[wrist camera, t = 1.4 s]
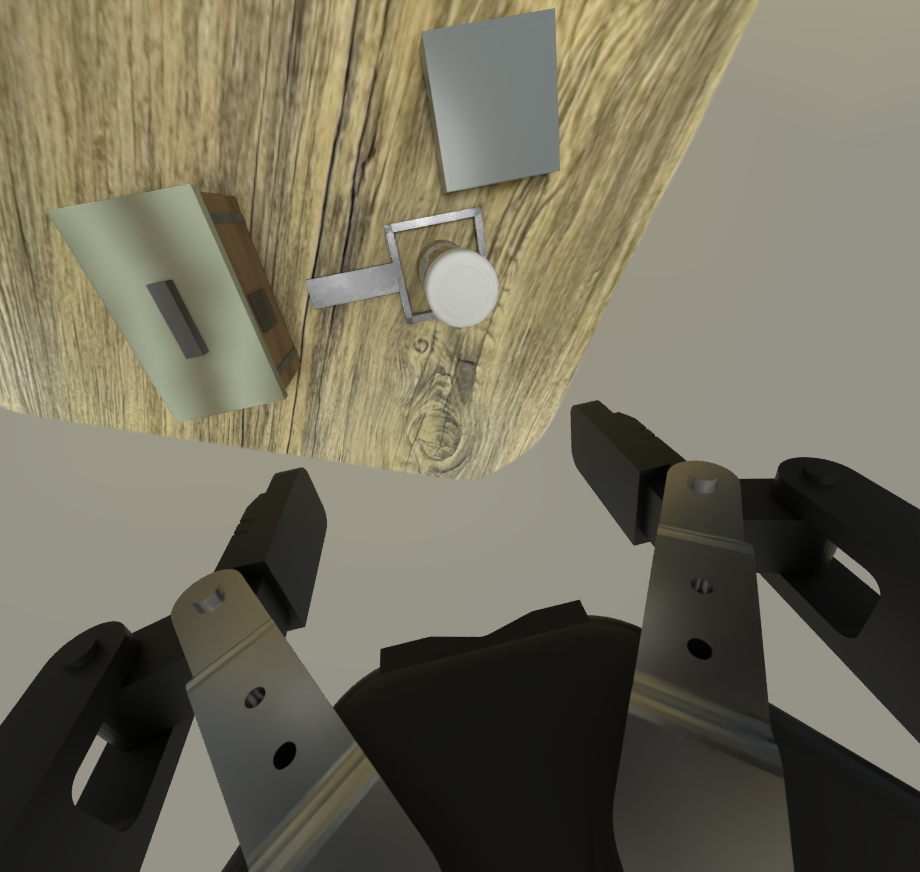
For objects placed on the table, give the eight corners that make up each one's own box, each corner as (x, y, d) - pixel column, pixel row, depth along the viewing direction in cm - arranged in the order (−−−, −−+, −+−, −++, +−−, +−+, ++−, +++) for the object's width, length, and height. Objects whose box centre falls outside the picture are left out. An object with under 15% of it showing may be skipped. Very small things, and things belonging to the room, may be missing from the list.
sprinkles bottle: (469, 243, 35) (507, 256, 23) (461, 297, 37) (493, 333, 25) (418, 235, 34) (430, 244, 22) (413, 290, 36) (422, 325, 24)
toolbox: (216, 385, 37) (171, 428, 30) (125, 212, 30) (33, 210, 22) (305, 366, 38) (282, 404, 30) (236, 191, 30) (182, 182, 23)
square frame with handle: (327, 338, 37) (325, 341, 36) (293, 243, 33) (291, 243, 32) (490, 304, 37) (492, 306, 37) (478, 207, 33) (480, 206, 32)
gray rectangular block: (442, 194, 32) (447, 192, 30) (419, 48, 28) (421, 31, 25) (546, 174, 33) (559, 170, 30) (540, 27, 28) (554, 8, 26)
